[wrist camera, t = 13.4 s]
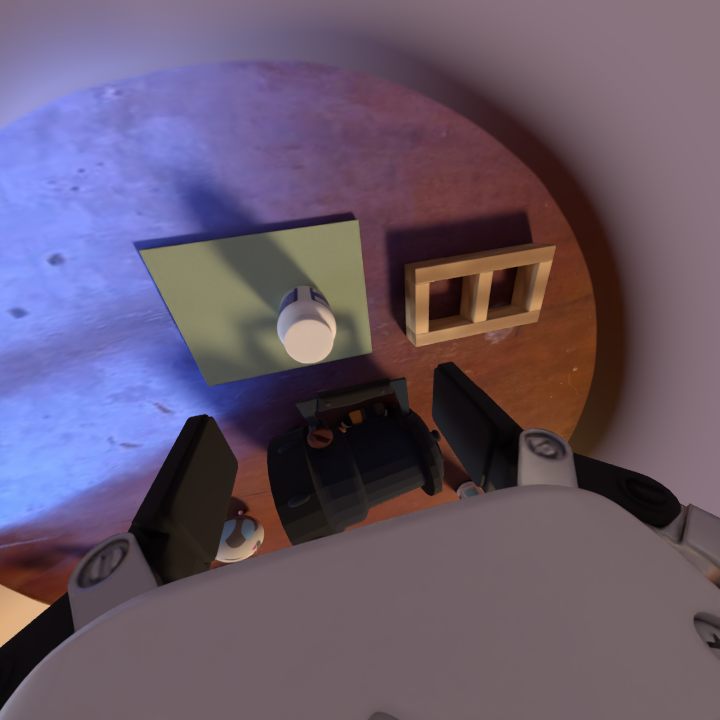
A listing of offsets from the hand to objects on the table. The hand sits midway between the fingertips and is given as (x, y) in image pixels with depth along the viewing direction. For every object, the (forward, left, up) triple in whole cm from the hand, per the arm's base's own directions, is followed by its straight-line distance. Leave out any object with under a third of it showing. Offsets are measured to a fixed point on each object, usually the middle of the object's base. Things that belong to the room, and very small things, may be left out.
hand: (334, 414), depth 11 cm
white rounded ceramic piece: (+34, -19, -20) cm, 44 cm away
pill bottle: (+1, -1, -20) cm, 20 cm away
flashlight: (+18, +2, -20) cm, 27 cm away
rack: (+3, +19, -20) cm, 28 cm away
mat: (+1, -4, -20) cm, 21 cm away
